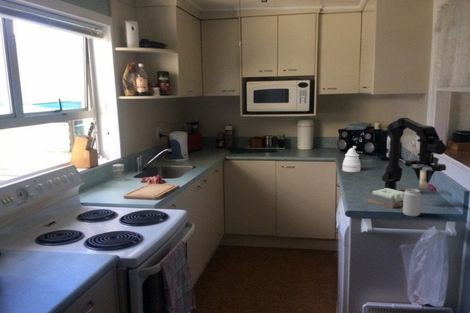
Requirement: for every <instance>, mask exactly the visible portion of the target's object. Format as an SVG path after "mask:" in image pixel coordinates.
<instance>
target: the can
mask: <svg viewBox="0 0 470 313" xmlns="http://www.w3.org/2000/svg"><path fill="white" fill-rule="evenodd" d="M404 190H405V191H403V192H404V199H403V206H402V213H403V214H404V215H405V216H408V217H412V218H413V217H418V216H420V215H421V209H422V208H421V205H422V203H421V202H422V193H421V190H419V189H417V188H406V189H404Z"/></svg>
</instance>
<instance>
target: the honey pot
mask: <svg viewBox="0 0 470 313" xmlns="http://www.w3.org/2000/svg"><path fill="white" fill-rule="evenodd" d="M356 148H357V146H356V145H353V146H352V147H350V148H349V149H348V150H347V152H346V153H345V154H344V156H345V157H344V159H343V162H342V169H341V170H342V171H343V172H348V173H358V172H361V167H362V166H361V160H360V158H359V156H360V154H359V153H357V151H356Z"/></svg>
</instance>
